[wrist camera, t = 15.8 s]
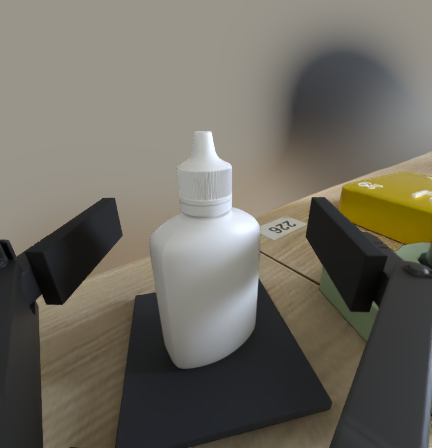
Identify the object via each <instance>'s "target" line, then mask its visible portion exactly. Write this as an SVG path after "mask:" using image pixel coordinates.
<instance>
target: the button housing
mask: <svg viewBox="0 0 432 448" xmlns="http://www.w3.org/2000/svg"><path fill="white" fill-rule="evenodd" d="M430 244H431V243H425V242H423V243H415V244H408V245H403V246H401V247H400V249H399V250H398V251H394V252H395V253H396V254H397V255H398V256H399V257H401V258H402V259H403V260H404V261H411V262H416V263H419V264H422V265H423V261H424V259H425V256H426V254H427V251H428V249H429V246H430ZM319 290H320V291H321V292H322V293H323V294H324V295H325V296H326V298H327V299H328V300H329V301H330V302H331V303H332V304H333V305H334V306H335V308H336V309H337V310H338V311H339V312H340V313H341V314H342V315H343V316H344V318H345V319H346V320H347V321H348V322H349V323H350V324H351V325H352V326H353V328H354V329H355V330H356V331H357V332H358V333H359V334H360V335H361V336H362V338H363V339H364V340H365V341H366V342H367V341H368V338H369V335H370V332H371V329H372V326H373V324H374V321H375V318H376V315H377V312H378V310H379V308H378V306H377V305H376V304H375V302H374V301H373V303H372V306H371V309H370V312H350V310H349V309H348V307H347V305H346V304H345V302H344V300H343V299H342V297H341V295H340V293H339V292H338V290H337V288H336V287H335V285H334V283H333V282H332V280H331V278H330V277H329V275H328V273H327V272H326V270H325V268H324V267H323V271H322V276H321V281H320V286H319ZM431 414H432V398H431Z"/></svg>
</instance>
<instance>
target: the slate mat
mask: <svg viewBox="0 0 432 448" xmlns="http://www.w3.org/2000/svg"><path fill="white" fill-rule="evenodd" d="M331 405H332V401H331V399H330V398H329V396H328V394H327V393H326V391H325V389H324V387H323V386H322V384H321V382H320V381H319V379H318V377H317V376H316V374H315V372H314V371H313V369H312V367H311V366H310V364H309V362H308V361H307V359H306V357H305V355H304V354H303V352H302V350H301V349H300V347H299V345H298V344H297V342H296V340H295V339H294V337H293V335H292V334H291V332H290V330H289V329H288V327H287V325H286V323H285V322H284V320H283V318H282V317H281V315H280V313H279V312H278V310H277V308H276V307H275V305H274V303H273V302H272V300H271V298H270V297H269V295H268V293H267V291H266V290H265V288H264V286H263V285H262V283H261V281H260V280H259V278H258V291H257V308H256V322H255V328H254V330H253V332H252V333H251V335H250V336H249V338H248V339H247V340H246V341H245V342H244V343H243V344H242V345H241V346H240V347H239V348H238V349H237V350H235V351H234V352H233V353H231V354H230V355H228V356H226V357H225V358H223V359H221V360H219V361H216V362H214V363H211V364H208V365H205V366H201V367H196V368H190V369H182V368H178V367H177V366H176V365H175V364H174V363H173V361H172V359H171V357H170V355H169V353H168V351H167V348H166V346H165V343H164V337H163V331H162V325H161V319H160V313H159V307H158V301H157V294H156V293H149V294H143V295H136V297H135V305H134V312H133V320H132V327H131V334H130V342H129V349H128V357H127V364H126V371H125V379H124V386H123V394H122V401H121V408H120V416H119V423H118V431H117V438H116V446H115V448H188V447H192V446H196V445H200V444H203V443H207V442H211V441H214V440H218V439H222V438H225V437H229V436H233V435H236V434H240V433H244V432H248V431H251V430H255V429H259V428H262V427H266V426H270V425H273V424H277V423H281V422H284V421H288V420H292V419H296V418H299V417H303V416H307V415H310V414H314V413H318V412H321V411H325V410H329V409H330V408H331Z"/></svg>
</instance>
